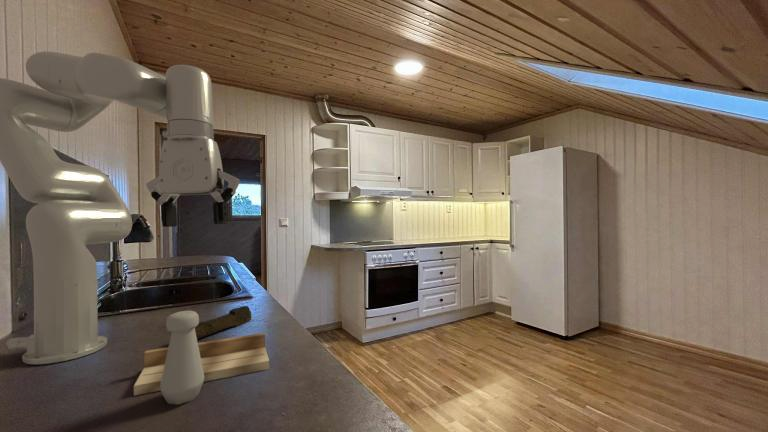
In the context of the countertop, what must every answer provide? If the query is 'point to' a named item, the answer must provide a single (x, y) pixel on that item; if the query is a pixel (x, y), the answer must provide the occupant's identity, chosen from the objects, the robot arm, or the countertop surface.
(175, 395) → the salt shaker
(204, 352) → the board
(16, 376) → the countertop surface
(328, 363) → the countertop surface
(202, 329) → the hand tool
